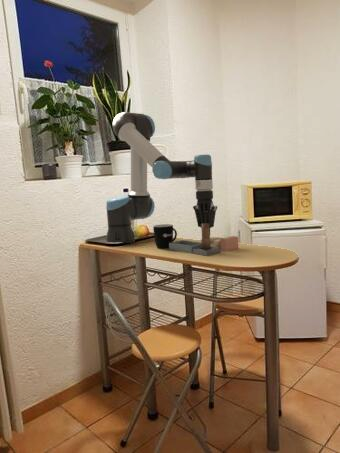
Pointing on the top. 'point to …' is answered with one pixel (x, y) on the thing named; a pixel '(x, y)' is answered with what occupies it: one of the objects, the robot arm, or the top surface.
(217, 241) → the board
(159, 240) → the mug
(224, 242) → the block
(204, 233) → the dowel
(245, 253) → the top surface
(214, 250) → the socket
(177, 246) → the tray
